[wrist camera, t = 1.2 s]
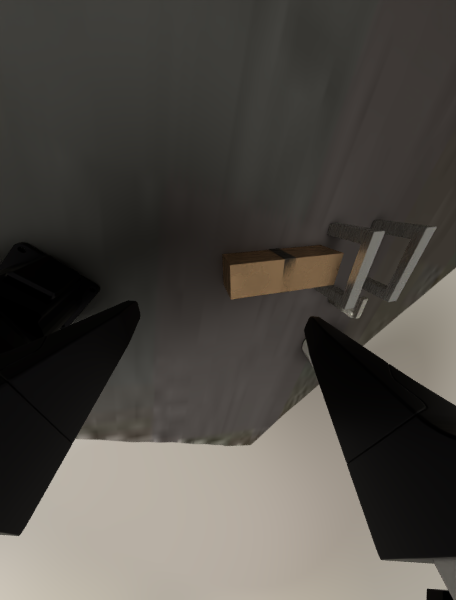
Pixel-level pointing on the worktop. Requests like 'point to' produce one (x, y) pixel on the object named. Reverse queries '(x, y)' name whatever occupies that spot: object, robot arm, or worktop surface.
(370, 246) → the gray bracket rail
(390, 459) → the robot arm
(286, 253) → the taped cardboard box
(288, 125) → the worktop surface
